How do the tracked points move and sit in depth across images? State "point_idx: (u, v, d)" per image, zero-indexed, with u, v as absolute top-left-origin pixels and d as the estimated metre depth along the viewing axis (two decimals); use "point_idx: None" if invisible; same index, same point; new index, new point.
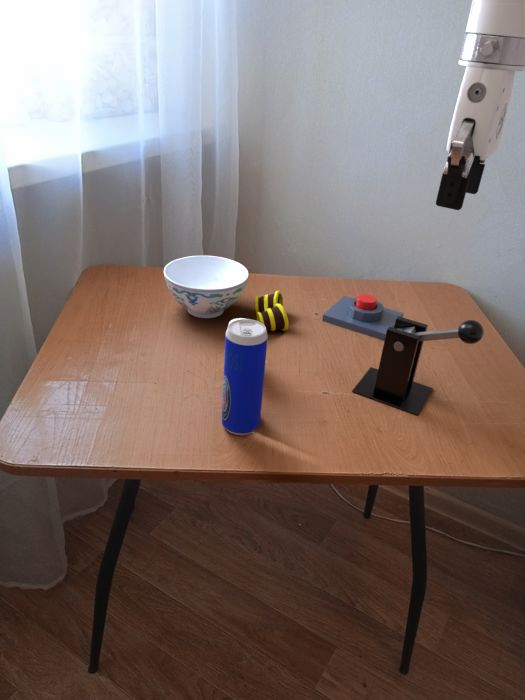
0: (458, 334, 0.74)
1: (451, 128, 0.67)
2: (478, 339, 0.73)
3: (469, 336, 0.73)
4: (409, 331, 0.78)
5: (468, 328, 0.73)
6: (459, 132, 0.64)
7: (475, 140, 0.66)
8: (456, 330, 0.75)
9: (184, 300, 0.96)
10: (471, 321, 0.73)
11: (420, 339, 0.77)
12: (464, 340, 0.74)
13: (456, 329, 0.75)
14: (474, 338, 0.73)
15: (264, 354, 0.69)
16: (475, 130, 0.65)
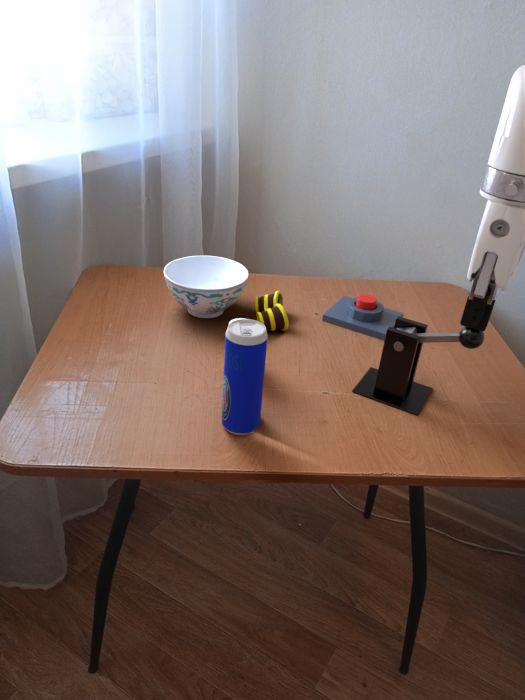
0: (459, 338, 0.74)
1: (472, 259, 0.65)
2: (478, 345, 0.73)
3: (470, 341, 0.73)
4: (410, 332, 0.78)
5: (469, 333, 0.73)
6: (479, 280, 0.66)
7: (497, 273, 0.64)
8: (457, 334, 0.75)
9: (184, 300, 0.96)
10: None
11: (420, 340, 0.78)
12: (464, 345, 0.74)
13: (457, 333, 0.75)
14: (475, 344, 0.73)
15: (264, 354, 0.69)
16: (497, 264, 0.64)
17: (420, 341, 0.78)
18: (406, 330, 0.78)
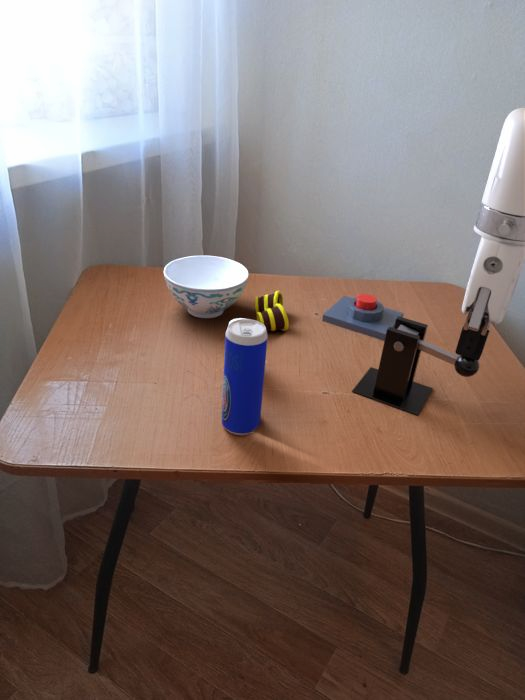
0: (455, 362, 0.76)
1: (467, 293, 0.67)
2: None
3: (465, 370, 0.75)
4: None
5: (468, 363, 0.75)
6: (473, 314, 0.68)
7: (490, 308, 0.66)
8: (455, 357, 0.76)
9: (184, 300, 0.96)
10: None
11: (419, 347, 0.78)
12: (458, 371, 0.76)
13: (455, 356, 0.77)
14: (468, 374, 0.75)
15: (264, 354, 0.69)
16: (491, 299, 0.66)
17: (418, 348, 0.78)
18: (410, 332, 0.78)
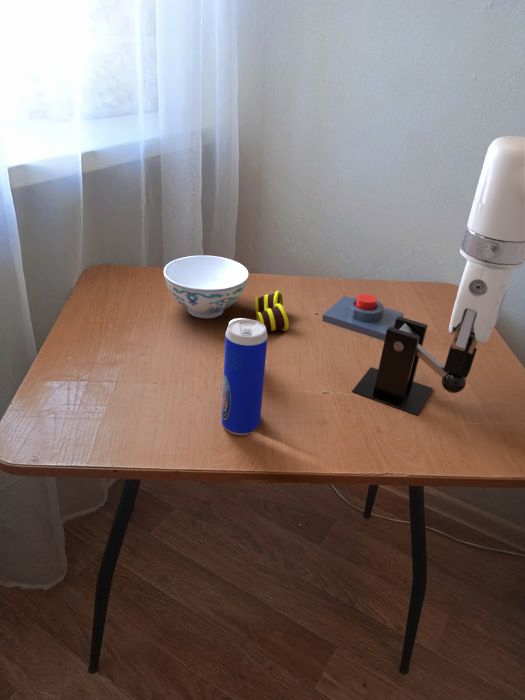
0: (445, 376, 0.78)
1: (453, 314, 0.69)
2: (453, 392, 0.78)
3: (452, 387, 0.77)
4: None
5: (457, 382, 0.77)
6: (460, 334, 0.70)
7: (476, 328, 0.68)
8: (446, 372, 0.78)
9: (184, 300, 0.96)
10: (463, 377, 0.77)
11: None
12: (445, 385, 0.78)
13: None
14: (453, 391, 0.77)
15: (264, 354, 0.69)
16: (476, 320, 0.68)
17: None
18: None
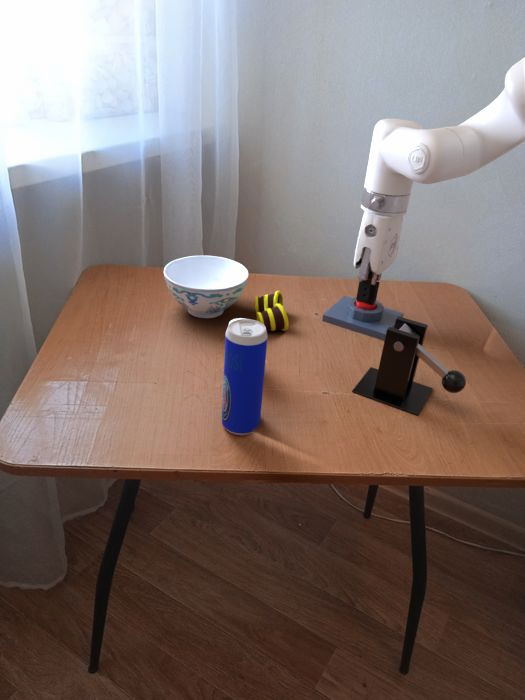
0: (445, 377, 0.78)
1: (355, 252, 0.93)
2: (453, 392, 0.78)
3: (452, 387, 0.77)
4: None
5: (457, 382, 0.77)
6: (361, 267, 0.93)
7: (371, 262, 0.92)
8: (446, 372, 0.78)
9: (184, 300, 0.96)
10: (463, 378, 0.77)
11: None
12: (445, 385, 0.78)
13: (446, 370, 0.78)
14: (453, 391, 0.77)
15: (264, 354, 0.69)
16: (371, 255, 0.91)
17: None
18: None
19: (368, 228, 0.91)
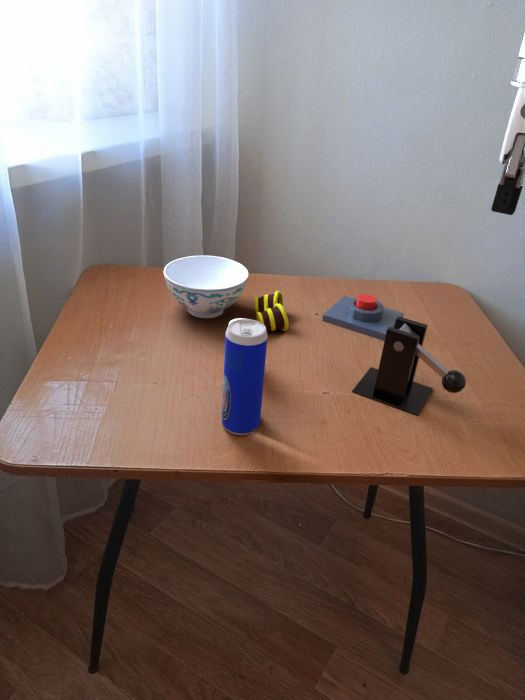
0: (445, 377, 0.78)
1: (504, 141, 0.75)
2: (453, 392, 0.78)
3: (452, 387, 0.77)
4: None
5: (457, 382, 0.77)
6: (510, 160, 0.76)
7: None
8: (446, 372, 0.78)
9: (184, 300, 0.96)
10: (463, 378, 0.77)
11: None
12: (445, 385, 0.78)
13: (446, 370, 0.78)
14: (453, 391, 0.77)
15: (264, 354, 0.69)
16: None
17: None
18: None
19: (524, 109, 0.74)
